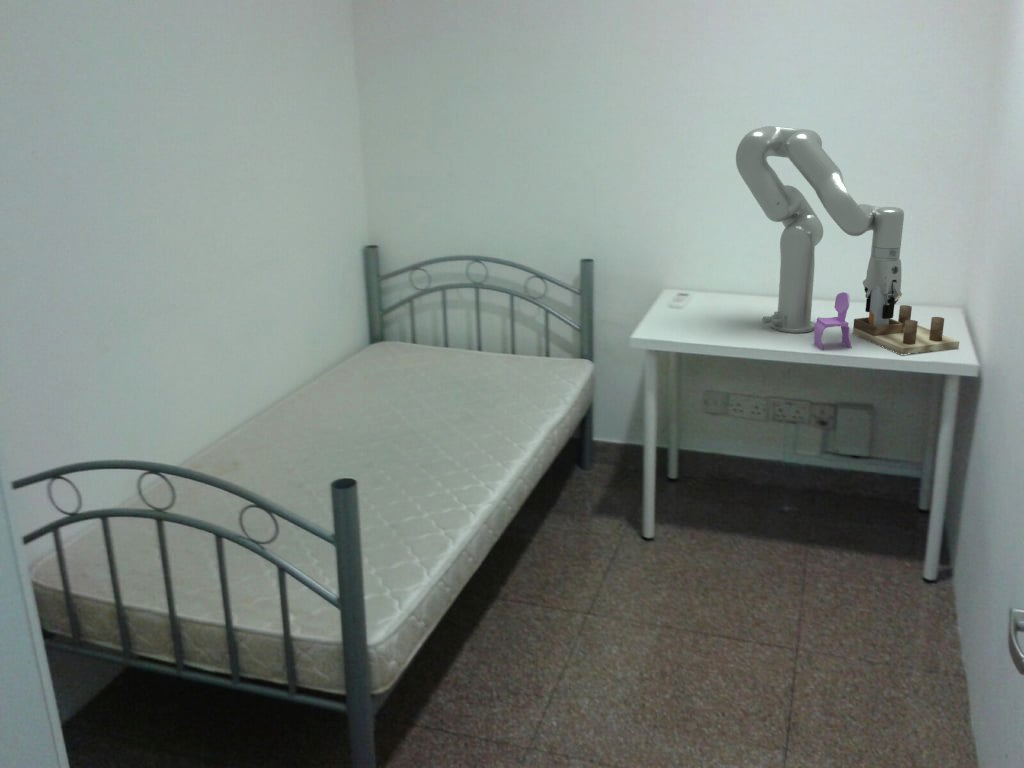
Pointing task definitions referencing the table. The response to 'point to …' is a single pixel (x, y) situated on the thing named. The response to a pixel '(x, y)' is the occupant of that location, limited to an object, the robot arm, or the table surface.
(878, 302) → the skincare box
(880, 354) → the table surface
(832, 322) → the toy chair
